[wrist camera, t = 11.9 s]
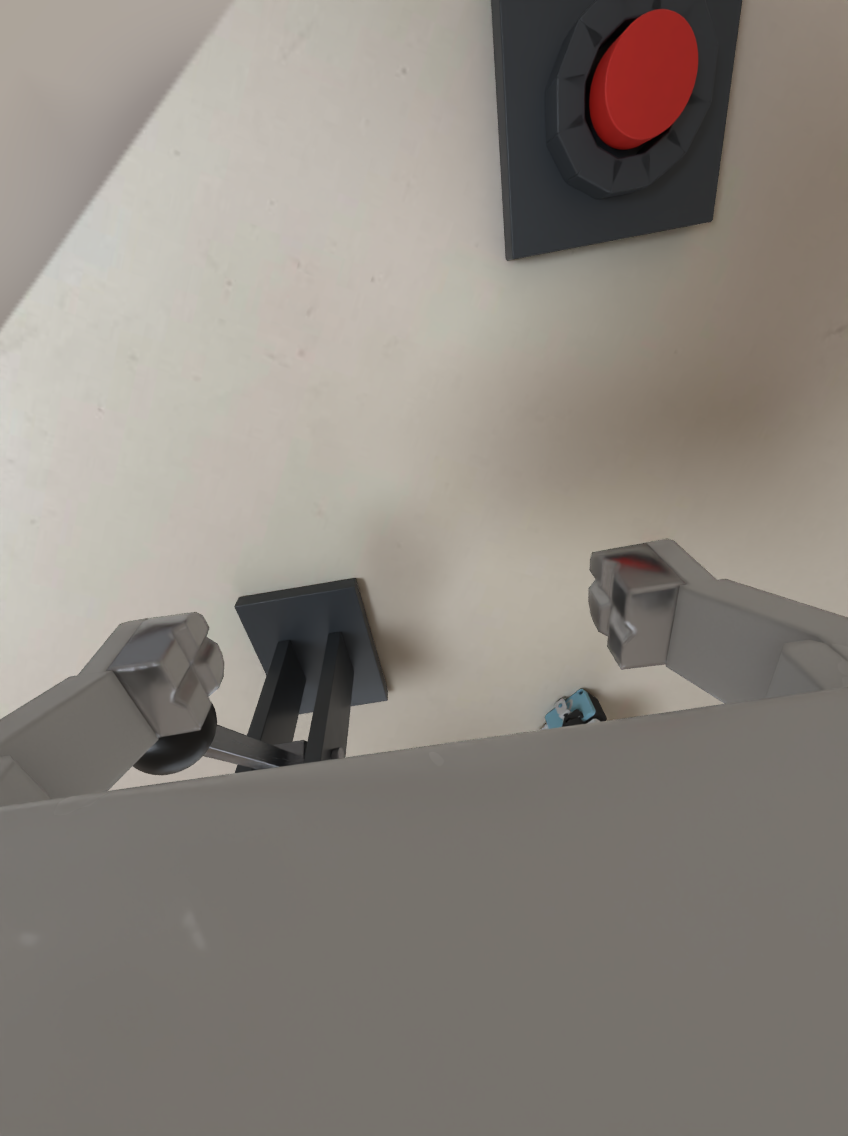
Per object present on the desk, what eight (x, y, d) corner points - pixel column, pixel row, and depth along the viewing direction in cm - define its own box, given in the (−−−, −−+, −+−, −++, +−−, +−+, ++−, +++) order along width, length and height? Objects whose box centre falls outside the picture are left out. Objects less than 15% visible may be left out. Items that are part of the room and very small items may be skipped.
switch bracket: (238, 597, 35) (168, 738, 24) (355, 577, 35) (337, 712, 24) (288, 705, 41) (250, 857, 30) (387, 690, 41) (385, 837, 30)
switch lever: (107, 681, 17) (86, 777, 15) (193, 667, 17) (181, 762, 15) (278, 746, 31) (276, 799, 29) (325, 738, 31) (326, 792, 29)
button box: (489, -20, 20) (506, -74, 17) (729, -71, 19) (790, -136, 16) (505, 260, 25) (520, 257, 22) (694, 225, 24) (735, 216, 21)
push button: (555, 740, 46) (592, 844, 37) (518, 717, 44) (548, 822, 35) (609, 701, 43) (661, 804, 35) (572, 676, 41) (618, 778, 33)
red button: (589, 40, 18) (606, 19, 17) (680, 21, 18) (706, -2, 17) (587, 157, 20) (602, 147, 19) (670, 141, 20) (691, 129, 19)
